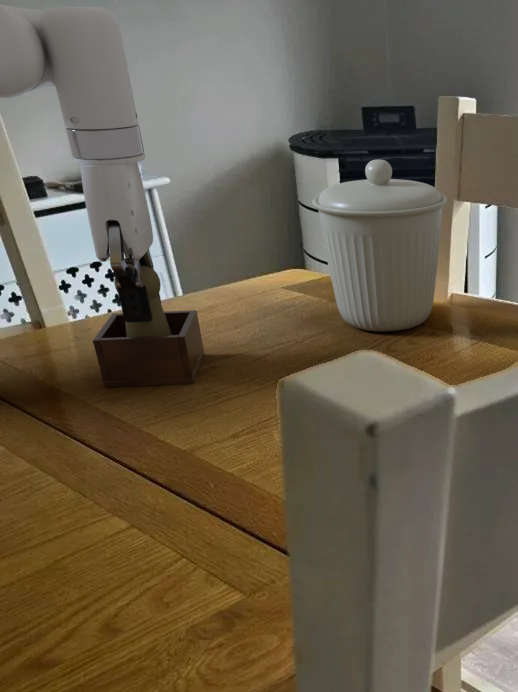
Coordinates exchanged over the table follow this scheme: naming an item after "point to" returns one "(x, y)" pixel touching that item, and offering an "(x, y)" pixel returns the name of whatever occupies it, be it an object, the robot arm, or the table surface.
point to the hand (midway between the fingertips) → (143, 312)
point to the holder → (150, 352)
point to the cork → (158, 322)
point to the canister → (382, 248)
